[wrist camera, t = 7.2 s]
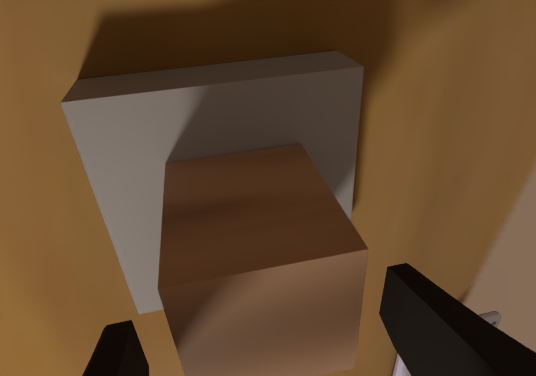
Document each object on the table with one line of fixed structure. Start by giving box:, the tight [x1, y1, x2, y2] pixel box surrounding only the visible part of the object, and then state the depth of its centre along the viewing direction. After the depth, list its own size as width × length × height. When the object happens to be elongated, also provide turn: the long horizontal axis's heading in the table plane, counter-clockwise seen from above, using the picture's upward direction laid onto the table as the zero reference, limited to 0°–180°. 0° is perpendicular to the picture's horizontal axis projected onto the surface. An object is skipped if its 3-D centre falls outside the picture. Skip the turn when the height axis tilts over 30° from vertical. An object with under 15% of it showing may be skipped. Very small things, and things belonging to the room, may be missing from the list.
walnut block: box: [158, 144, 368, 376], centre depth 12 cm, size 5×5×6 cm
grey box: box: [61, 51, 364, 314], centre depth 16 cm, size 10×10×3 cm
